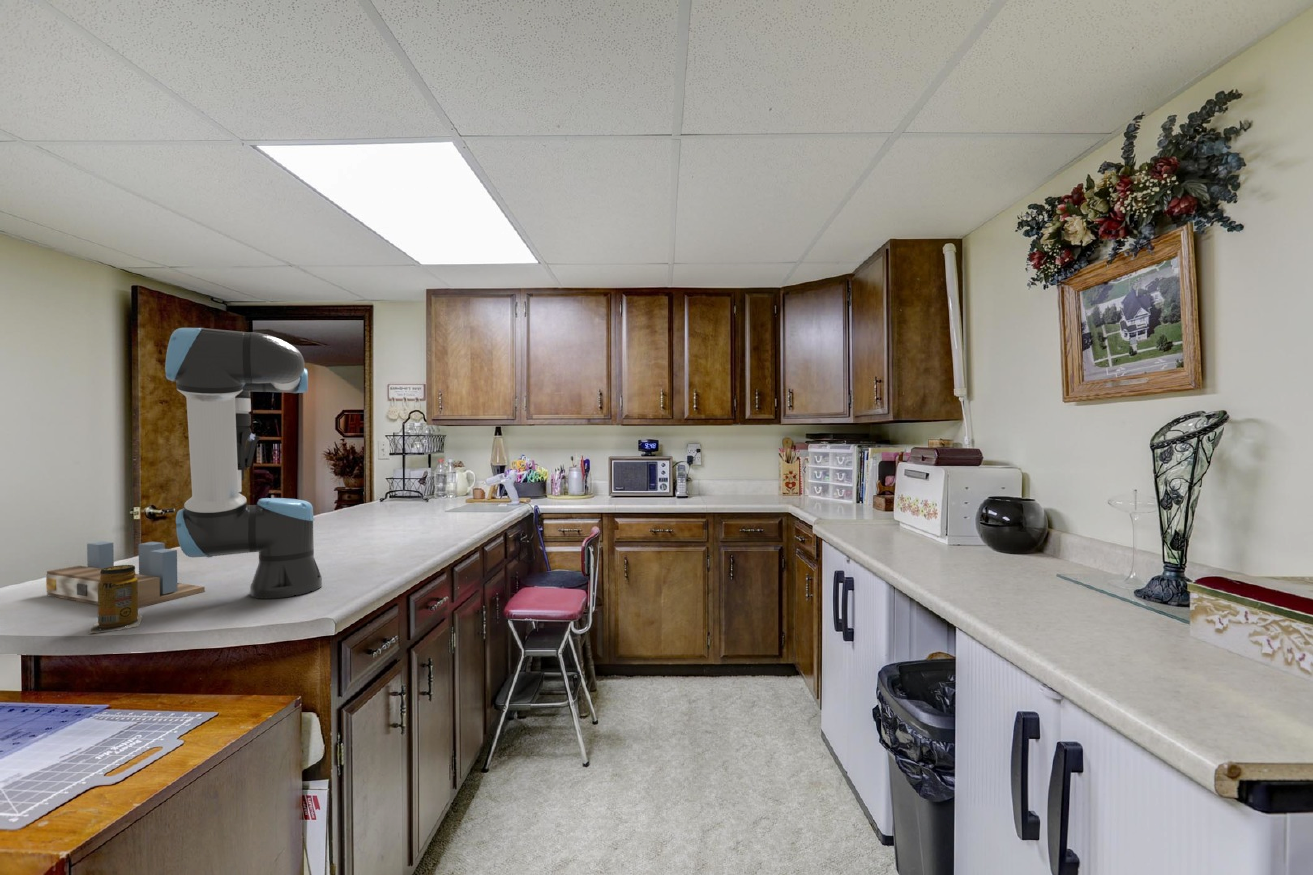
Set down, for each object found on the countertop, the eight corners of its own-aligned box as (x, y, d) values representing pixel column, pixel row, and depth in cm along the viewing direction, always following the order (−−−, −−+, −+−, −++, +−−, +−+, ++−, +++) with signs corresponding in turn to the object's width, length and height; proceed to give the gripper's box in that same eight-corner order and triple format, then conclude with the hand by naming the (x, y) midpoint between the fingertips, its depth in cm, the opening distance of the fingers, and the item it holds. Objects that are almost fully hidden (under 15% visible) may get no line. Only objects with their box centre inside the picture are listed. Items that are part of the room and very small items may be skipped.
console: (204, 591, 139) (204, 567, 139) (123, 611, 124) (123, 584, 124) (125, 579, 151) (125, 557, 150) (42, 596, 135) (42, 571, 135)
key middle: (165, 581, 143) (164, 542, 143) (151, 584, 140) (150, 545, 140) (153, 579, 145) (152, 541, 145) (139, 582, 142) (138, 543, 142)
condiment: (142, 616, 121) (141, 561, 121) (138, 626, 114) (138, 569, 114) (95, 623, 116) (94, 567, 116) (88, 635, 110) (87, 575, 109)
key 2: (177, 590, 134) (177, 550, 134) (162, 594, 132) (162, 552, 132) (164, 588, 136) (164, 548, 136) (149, 592, 133) (149, 551, 133)
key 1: (113, 581, 143) (113, 542, 143) (98, 583, 141) (98, 544, 141) (102, 579, 145) (102, 541, 145) (87, 582, 142) (87, 543, 142)
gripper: (249, 413, 172) (250, 489, 172) (202, 412, 159) (203, 493, 160) (265, 413, 169) (266, 490, 169) (219, 411, 157) (220, 494, 157)
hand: (235, 491), depth 164 cm, fingers closed
